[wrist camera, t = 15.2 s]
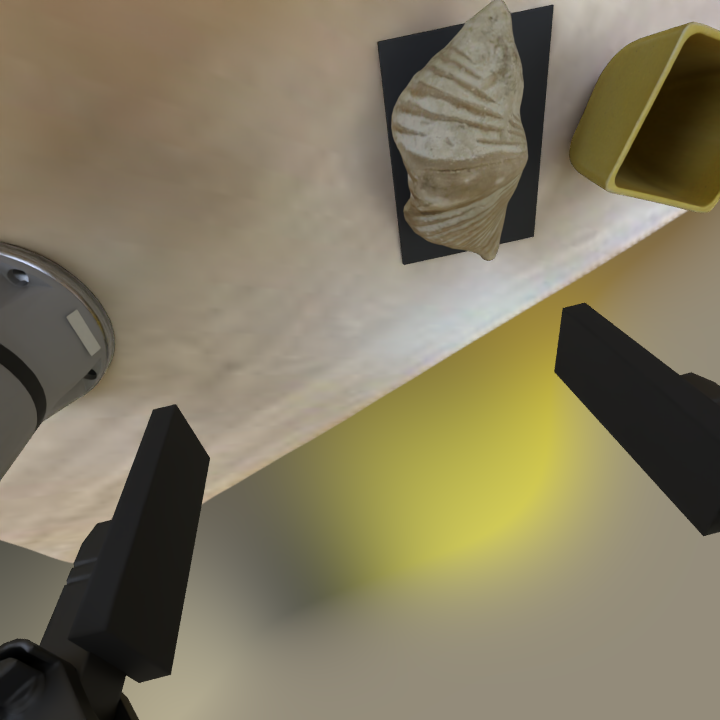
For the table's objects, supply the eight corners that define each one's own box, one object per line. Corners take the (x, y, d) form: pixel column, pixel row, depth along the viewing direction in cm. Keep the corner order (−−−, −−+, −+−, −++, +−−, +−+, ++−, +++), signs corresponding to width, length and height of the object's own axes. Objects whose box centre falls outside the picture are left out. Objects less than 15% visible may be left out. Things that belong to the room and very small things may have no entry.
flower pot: (535, 165, 33) (603, 191, 26) (590, 32, 29) (692, 18, 21) (624, 186, 35) (710, 215, 28) (688, 64, 31) (812, 61, 23)
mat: (402, 263, 37) (403, 265, 36) (377, 42, 27) (378, 41, 27) (531, 235, 37) (533, 236, 37) (550, 5, 27) (553, 4, 27)
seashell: (542, 255, 32) (512, 251, 23) (431, 267, 37) (374, 267, 29) (541, 51, 29) (507, -32, 21) (422, 94, 34) (357, 41, 26)
